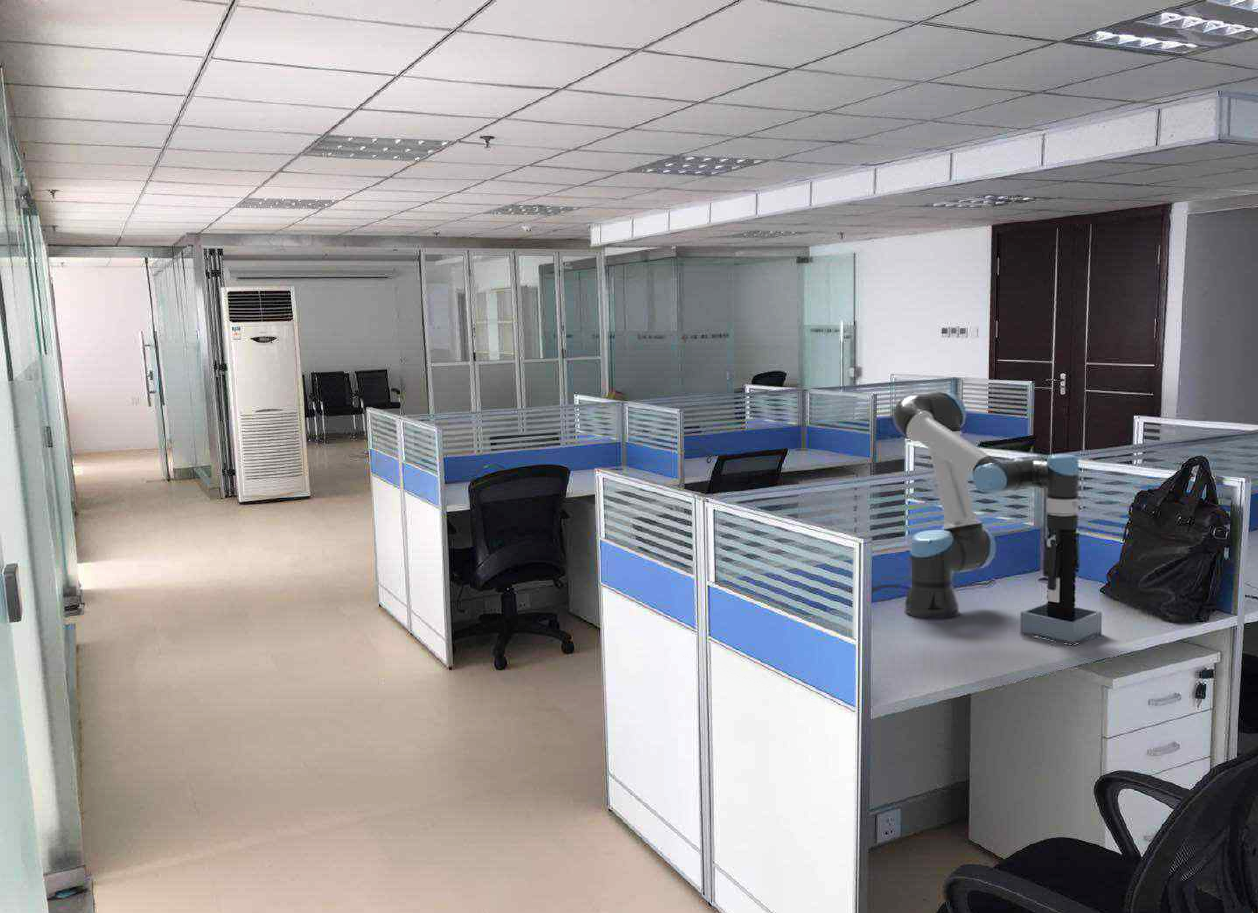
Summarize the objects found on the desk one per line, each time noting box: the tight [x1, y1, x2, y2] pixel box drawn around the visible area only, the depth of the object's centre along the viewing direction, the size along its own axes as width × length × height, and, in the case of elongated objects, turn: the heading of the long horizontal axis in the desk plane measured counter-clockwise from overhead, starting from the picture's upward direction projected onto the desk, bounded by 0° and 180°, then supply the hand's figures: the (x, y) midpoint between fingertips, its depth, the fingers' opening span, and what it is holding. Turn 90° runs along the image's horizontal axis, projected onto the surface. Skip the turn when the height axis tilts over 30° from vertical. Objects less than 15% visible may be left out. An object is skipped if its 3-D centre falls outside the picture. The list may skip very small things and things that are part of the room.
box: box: [1019, 602, 1103, 646], centre depth 258 cm, size 15×15×6 cm
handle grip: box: [1046, 527, 1077, 622], centre depth 257 cm, size 10×26×10 cm
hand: (1061, 598), depth 257 cm, fingers closed on handle grip, 7 cm apart
